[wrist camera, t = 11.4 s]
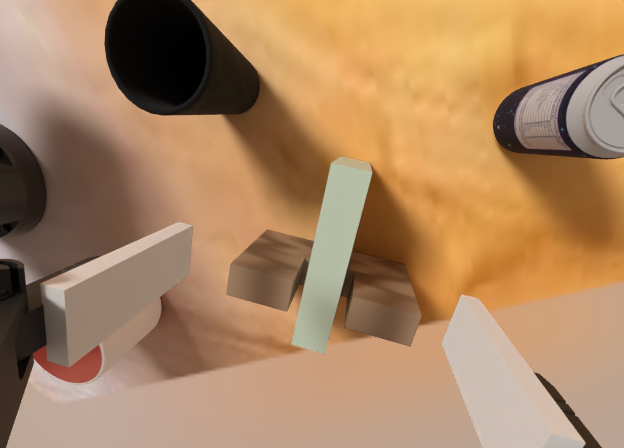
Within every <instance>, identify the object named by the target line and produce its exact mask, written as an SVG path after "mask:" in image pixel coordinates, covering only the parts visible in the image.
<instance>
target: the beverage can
mask: <svg viewBox="0 0 624 448" xmlns="http://www.w3.org/2000/svg"><path fill="white" fill-rule="evenodd" d="M493 130H494V134H495V137H496V139H497V141H498V142H499V143H500V144H501V145H502V146H503V147H504V148H506V149H507V150H509V151H512V152H516V153H527V154H541V155H554V156H567V157H580V158H593V159H616V158H621V157H624V55H619V56H616V57H613V58H610V59H607V60H604V61H601V62H598V63H595V64H592V65H589V66H586V67H583V68H580V69H577V70H574V71H571V72H568V73H565V74H562V75H559V76H556V77H553V78H550V79H547V80H544V81H541V82H538V83H535V84H532V85H529V86H526V87H523V88H520V89H518V90H516V91H514V92H513V93H511V94H510V95H509V96H507V97H506V98H505V99H504V100H503V102H502V103H501V104H500V106H499V107H498V109H497V111H496V113H495V116H494V121H493Z"/></svg>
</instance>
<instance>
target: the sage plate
mask: <svg viewBox="0 0 624 448" xmlns="http://www.w3.org/2000/svg"><path fill="white" fill-rule="evenodd" d="M372 173H373V172H372V169H371V166H370V162H365V161H361V160H356V159H352V158H347V157H343V156H341V157H339V158H338V159H336V160H335V161H333V162H332V163H331V166H330V171H329V175H328V180H327V184H326V189H325V194H324V198H323V203H322V207H321V212H320V216H319V221H318V225H317V230H316V235H315V239H314V244H313V248H312V253H311V257H310V262H309V266H308V271H307V276H306V280H305V285H304V289H303V294H302V298H301V303H300V307H299V312H298V317H297V321H296V326H295V330H294V335H293V339H292V345H295V346H298V347H302V348H305V349H309V350H312V351H316V352H319V353H323V354H325V351H326V347H327V343H328V339H329V335H330V332H331V328H332V324H333V320H334V316H335V313H336V309H337V305H338V301H339V298H340V294H341V290H342V286H343V282H344V279H345V275H346V271H347V267H348V263H349V260H350V256H351V252H352V248H353V245H354V241H355V237H356V233H357V229H358V226H359V222H360V218H361V214H362V210H363V207H364V203H365V199H366V195H367V192H368V188H369V184H370V180H371V176H372Z"/></svg>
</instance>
